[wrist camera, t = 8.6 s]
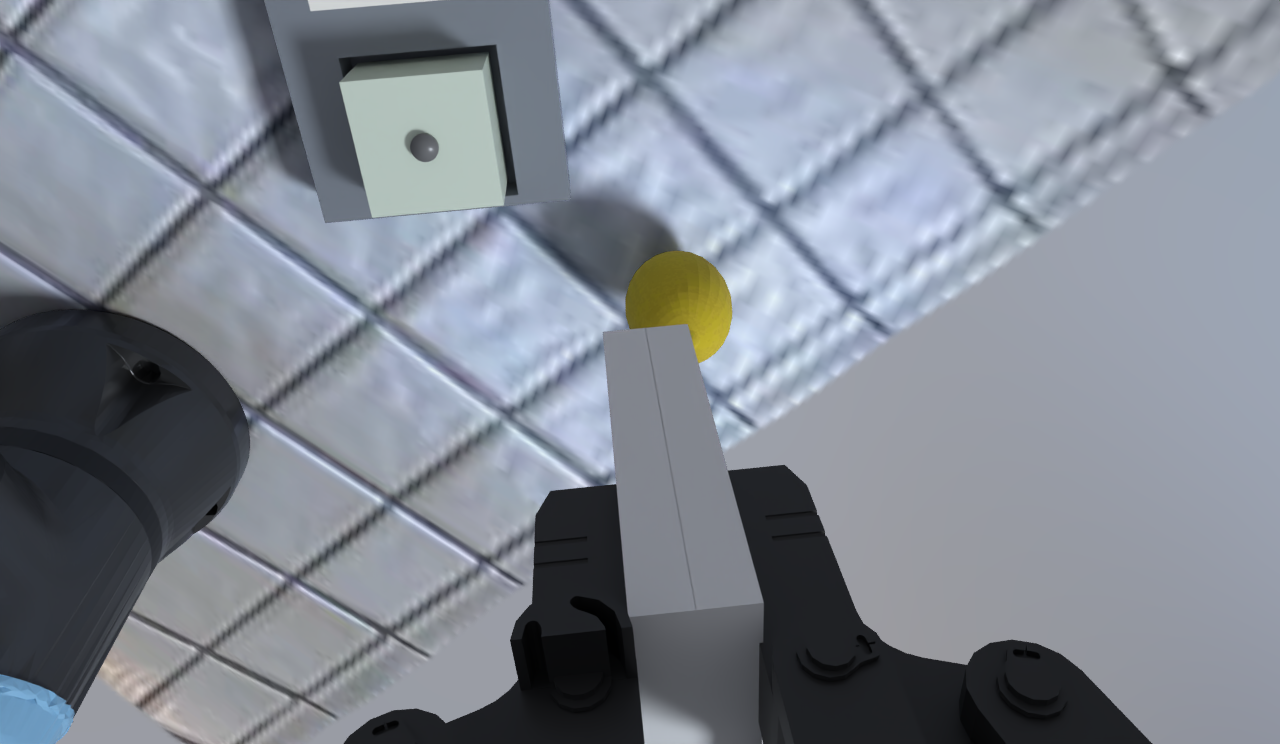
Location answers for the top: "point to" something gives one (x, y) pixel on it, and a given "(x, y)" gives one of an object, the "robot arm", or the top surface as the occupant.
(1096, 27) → the top surface
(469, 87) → the tile one
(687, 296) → the lemon
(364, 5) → the tile two
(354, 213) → the console
